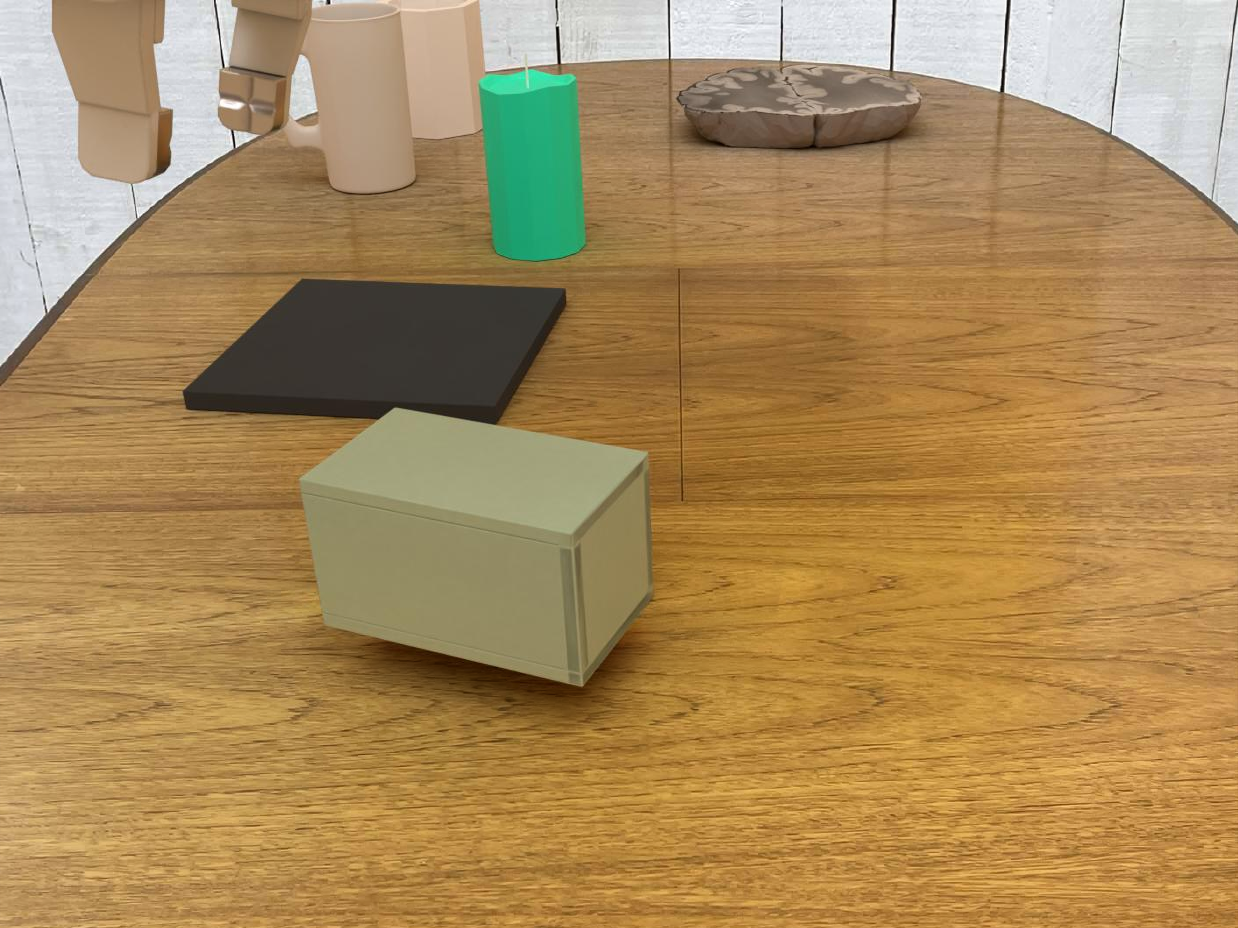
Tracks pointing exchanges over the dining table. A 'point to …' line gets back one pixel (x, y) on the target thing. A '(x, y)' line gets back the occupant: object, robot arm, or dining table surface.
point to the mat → (383, 350)
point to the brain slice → (799, 106)
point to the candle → (533, 164)
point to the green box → (482, 542)
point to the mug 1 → (359, 97)
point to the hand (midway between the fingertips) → (195, 151)
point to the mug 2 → (442, 65)
